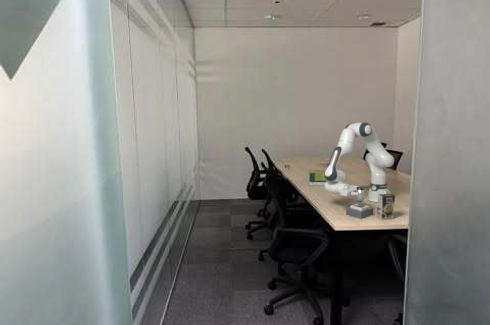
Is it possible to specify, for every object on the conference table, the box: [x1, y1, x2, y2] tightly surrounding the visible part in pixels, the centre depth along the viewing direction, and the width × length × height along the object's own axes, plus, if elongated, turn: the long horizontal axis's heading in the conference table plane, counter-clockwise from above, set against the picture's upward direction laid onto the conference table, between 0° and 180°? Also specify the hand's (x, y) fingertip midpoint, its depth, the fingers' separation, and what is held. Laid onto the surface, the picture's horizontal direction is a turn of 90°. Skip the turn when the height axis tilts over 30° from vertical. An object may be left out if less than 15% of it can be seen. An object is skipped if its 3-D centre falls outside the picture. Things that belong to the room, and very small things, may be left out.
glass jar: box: [355, 186, 365, 203], centre depth 232 cm, size 5×5×10 cm
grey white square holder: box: [345, 203, 374, 220], centre depth 234 cm, size 14×12×6 cm
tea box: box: [308, 169, 326, 186], centre depth 334 cm, size 15×10×15 cm, turn 84°
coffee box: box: [376, 193, 396, 221], centre depth 225 cm, size 9×6×16 cm
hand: (361, 193), depth 231 cm, fingers closed on glass jar, 5 cm apart
